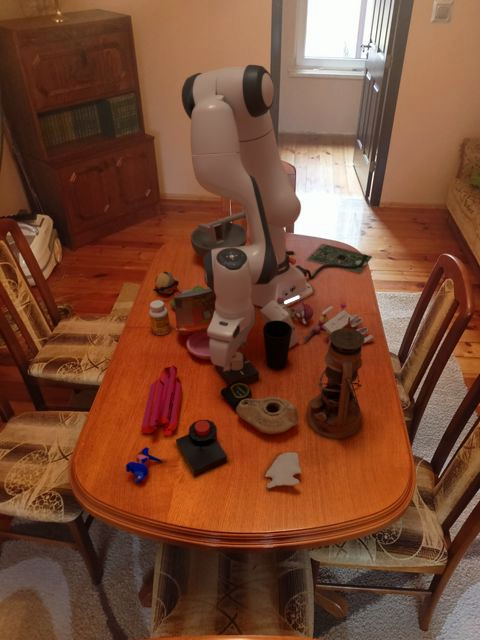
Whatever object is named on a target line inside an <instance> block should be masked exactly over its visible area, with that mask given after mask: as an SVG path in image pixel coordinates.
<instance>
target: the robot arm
mask: <svg viewBox="0 0 480 640" xmlns="http://www.w3.org/2000/svg"><path fill="white" fill-rule="evenodd" d="M274 89H275V88H274V83H273V79H272V75H271V74H270V72H269V71H268V70H267V69H266V68H265V67H264V66H262V65H259V64H248V65H237V66H234V65H233V66H225V67H222V68H217V69H214V70H209V71H206V72H197V73H195V74H192V75H190V76H188V77H187V78H186V79H185V81H184V84H183V85H182V88H181V103H182V107H183V110H184V112H185V113H186V116H187V117H188V119H190V154H191V162H192V168H193V172H194V173H193V174H194V176H195V180H196V182H197V183H198V184H199V186H201V188H202V189H204V190H205V191H207V192H208V193H209V194H210V193H211V194H213V195H214V196H215V195H216V196H217V197H221V198H224V199H228V200H231V201H233V202H235V203H238V204H240V205H241V206H242V207H243V210H245V215H246V218H245V219H246V223H247V228H248V229H247V230H248V235H249V244H248V245H245V246H239V247H225V248H217V249H213V250H210V251H209V252H208V253H207V254H206V256H205V257H204V259H202V263H203V267H204V268H203V269H204V272H203V273H204V275H203V276H204V277H203V278H204V284H205V285H206V286H207V288H210V289H211V290H212V291H214V292H215V294H216V301H215V311H214V315H213V318H212V321H211V323H210V325H209V327H208V330H207V334H208V336H210V337H211V338H210V342H209V347H210V357H211V360H210V362H211V363H212V364H213V365H214V366H215V365H217V366H221V367H223V368H224V370H228V371H229V370H230V369H231V367H232V362H229V361H230V360H231V358H232V357H233V355H234V354H235V352H238V350H239V349H242V350H243V349H245V348H246V346H247V340H248V336H249V333H250V332H251V330H253V329H252V328H253V327H254V326H255V322H256V312H255V311H256V309H255V306H256V307H260V308H263V307H264V306H265V305H267V304H268V303H269V302H270V301H275V302H276V303H277V304H278V305H279V306H281V307H282V308H289V307H290V306H292V305H294V304H296V303H298V302H300V301H301V300H304V299H306V298H307V297H309V296H311V295H313V293H314V291H313V287H312V286H311V284H310V283H309V282H308V281H307V280H306V278H307V277H308V278H309V279H310V280H312V279H314V278H315V277H316V276H317V275H318V274H319V273H320V272H321V271H322V270H323V269H326V268H329V267H330V268H337V267H340V268H339V269H341V268H347V269H354V268H359V267H360V266H362V264H363V263H364V261H365V257H367V255H368V254H365V253H364V254H365V255H363V258H362V261H361V263H360V264H359V265H356V266H344V265H338V264H323V265H321V266H319V268H317V270H316V271H315V272H314V273H313V274H312V273H311V270H310V269H306V268H303V266H300V265H299V264H298V265H297V259H296V258H294V257H293V256H290V254H286V251H287V234H286V230H285V228H288V227H291V226H292V225H293V224H294V223H296V222H297V220H298V219H299V217H300V215H301V212H302V204H301V200H300V199H299V198H298V196H297V194H296V192H295V190H294V188H293V186H292V184H291V181H290V178H289V176H288V173H287V171H286V169H285V166H284V163H283V161H282V158H281V155H280V151H279V148H278V143H277V139H276V134H275V130H274V129H275V128H274V125H273V120H272V117H271V113H270V110H271V108H272V107H273V103H274V99H275V98H274V97H275V90H274ZM278 298H283V300H284V302H283V303H282V304H279V303H278V301H277V300H278Z"/></svg>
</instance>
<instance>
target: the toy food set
mask: <svg viewBox="0 0 480 640" xmlns="http://www.w3.org/2000/svg"><path fill="white" fill-rule="evenodd" d="M200 289H205V288H204V287H203V286H199V285H197V286H194V287H193V288H192V289H190V288H189V289H188V288H187V289H184V290H182V291H176V292H173V298H174V297H175V296H176V295H179V294H182V293H185V292H189V291H194V290H200ZM169 305H170V306H171V307H173V309H174V310H175V305H174V300H171V301H170V303H169Z"/></svg>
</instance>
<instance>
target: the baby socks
mask: <svg viewBox="0 0 480 640" xmlns="http://www.w3.org/2000/svg"><path fill="white" fill-rule="evenodd" d="M351 316H352V317H353V318H354V319H353V320H352V321H351V322H350V326H351V328H357V329H356V330H357V331H359V332H360V333H361V334H362V335H363V337H364V340H365V341H364V344H366V343H367V344H368V343H371V342H373V341H374V335H373V334H369V335H367V333H368V331H369V328H368V327H367V326H363V327H362V325H363V323H362V322H363V321H364V319H363V318H362V316H359V315H358V314H356V313H355V314H353V315H351ZM360 327H361V328H360Z"/></svg>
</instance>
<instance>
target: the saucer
mask: <svg viewBox="0 0 480 640" xmlns="http://www.w3.org/2000/svg"><path fill="white" fill-rule="evenodd" d="M210 338H211V337H210V336H208V334H207V331H206V332H202V333H196V334H193V333H191V334H190V335H189V336H188V337H187V340H186V348H187V351H188V352H189V353H190V354H191V355H193V356H194V357H196V358H198V359H200V360H204V361H211V357H210V347H209V342H210Z"/></svg>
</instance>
